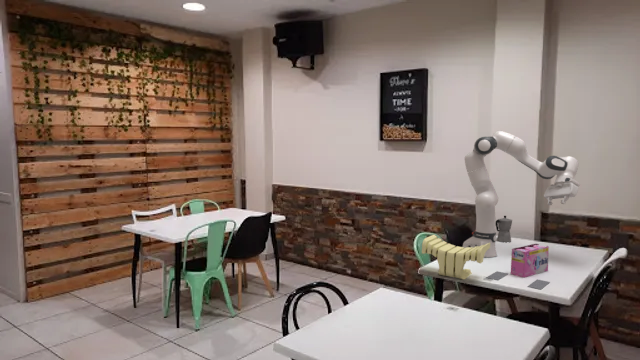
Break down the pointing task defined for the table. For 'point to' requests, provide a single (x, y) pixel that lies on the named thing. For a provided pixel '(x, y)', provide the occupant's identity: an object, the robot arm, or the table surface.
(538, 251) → the gum box
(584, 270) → the table surface
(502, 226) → the coffeepot
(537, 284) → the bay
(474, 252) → the slatted curved stool
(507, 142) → the robot arm
